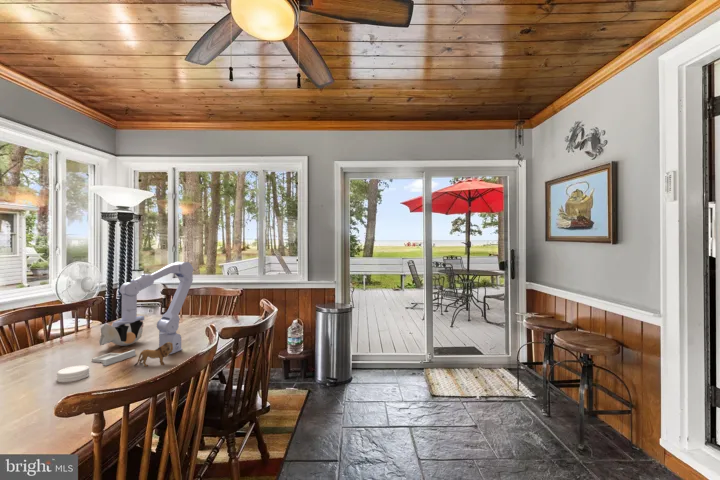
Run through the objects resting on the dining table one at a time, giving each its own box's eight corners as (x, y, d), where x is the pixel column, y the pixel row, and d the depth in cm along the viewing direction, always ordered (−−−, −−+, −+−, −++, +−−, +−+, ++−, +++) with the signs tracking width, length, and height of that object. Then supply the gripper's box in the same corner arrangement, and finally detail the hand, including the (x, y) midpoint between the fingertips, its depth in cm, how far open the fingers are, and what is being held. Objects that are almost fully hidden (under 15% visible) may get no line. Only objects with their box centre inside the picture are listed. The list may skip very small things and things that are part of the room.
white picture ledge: (136, 355, 169) (136, 349, 169) (106, 365, 155) (106, 359, 155) (132, 354, 170) (132, 349, 170) (102, 365, 155) (102, 359, 155)
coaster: (85, 371, 148) (85, 363, 148) (92, 377, 142) (92, 368, 142) (53, 378, 140) (54, 369, 140) (60, 385, 134) (60, 375, 134)
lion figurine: (172, 360, 162) (173, 340, 162) (172, 363, 158) (173, 343, 158) (134, 365, 156) (134, 344, 156) (133, 369, 151) (133, 347, 151)
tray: (125, 357, 166) (125, 354, 166) (107, 363, 158) (107, 360, 158) (110, 355, 169) (110, 352, 169) (91, 361, 160) (91, 358, 160)
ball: (138, 342, 163) (138, 331, 163) (128, 345, 159) (128, 333, 159) (129, 341, 165) (129, 330, 165) (119, 344, 160) (119, 333, 160)
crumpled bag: (144, 345, 185) (144, 316, 185) (98, 351, 174) (99, 320, 174) (142, 338, 198) (142, 311, 198) (100, 344, 188) (100, 315, 188)
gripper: (135, 306, 170) (135, 335, 170) (107, 311, 156) (106, 343, 156) (148, 306, 168) (147, 336, 168) (120, 312, 154) (119, 344, 154)
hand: (129, 339), depth 162 cm, fingers closed on ball, 5 cm apart
